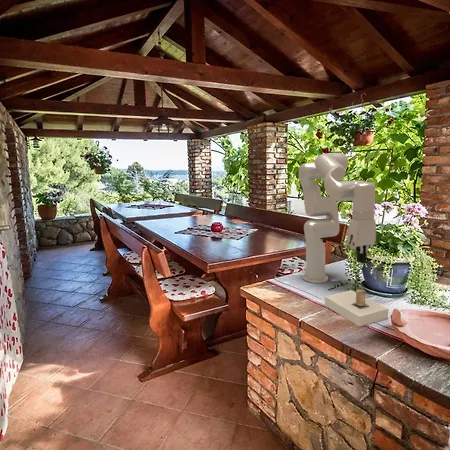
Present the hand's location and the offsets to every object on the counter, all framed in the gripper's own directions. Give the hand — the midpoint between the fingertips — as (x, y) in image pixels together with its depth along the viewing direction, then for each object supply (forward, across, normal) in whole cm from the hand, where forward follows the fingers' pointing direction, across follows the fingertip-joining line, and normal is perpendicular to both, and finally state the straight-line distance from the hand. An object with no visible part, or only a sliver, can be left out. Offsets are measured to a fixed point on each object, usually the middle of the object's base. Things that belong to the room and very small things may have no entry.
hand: (361, 262), depth 124 cm
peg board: (+22, 0, -3) cm, 22 cm away
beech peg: (+22, 0, 0) cm, 22 cm away
